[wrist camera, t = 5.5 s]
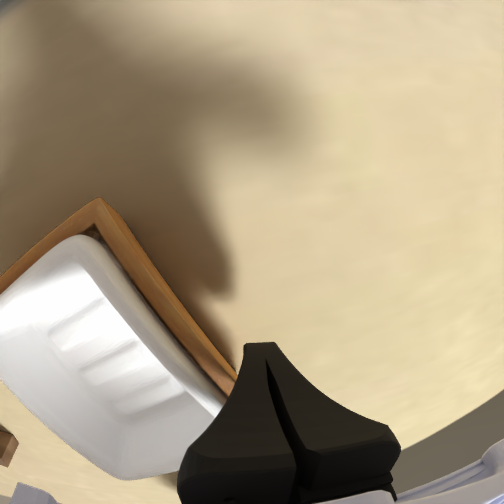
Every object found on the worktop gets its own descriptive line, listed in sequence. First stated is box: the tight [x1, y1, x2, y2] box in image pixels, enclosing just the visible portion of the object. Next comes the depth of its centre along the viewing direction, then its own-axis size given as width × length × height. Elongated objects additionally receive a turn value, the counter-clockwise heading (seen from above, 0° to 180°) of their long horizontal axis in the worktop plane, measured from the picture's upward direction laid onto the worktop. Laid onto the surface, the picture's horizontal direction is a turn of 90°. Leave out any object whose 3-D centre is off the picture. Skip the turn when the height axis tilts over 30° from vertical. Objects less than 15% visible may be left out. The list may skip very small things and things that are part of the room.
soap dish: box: [0, 197, 238, 480], centre depth 13 cm, size 12×10×5 cm
